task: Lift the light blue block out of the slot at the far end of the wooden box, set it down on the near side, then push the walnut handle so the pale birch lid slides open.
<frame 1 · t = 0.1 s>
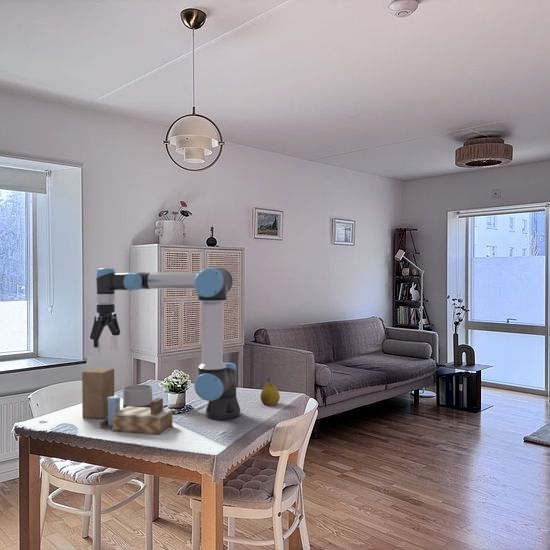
hand: (105, 352, 228), 28 cm above the table, fingers open, 13 cm apart
wooden block: (98, 415, 229), on the table
wooden box: (143, 428, 210), on the table
fruit: (270, 404, 248), on the table
light blue block: (114, 426, 213), resting in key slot
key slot: (114, 426, 213), on the table
planter: (137, 411, 237), on the table
lid: (143, 406, 210), point 9 cm above the table, slide at 0.0 cm
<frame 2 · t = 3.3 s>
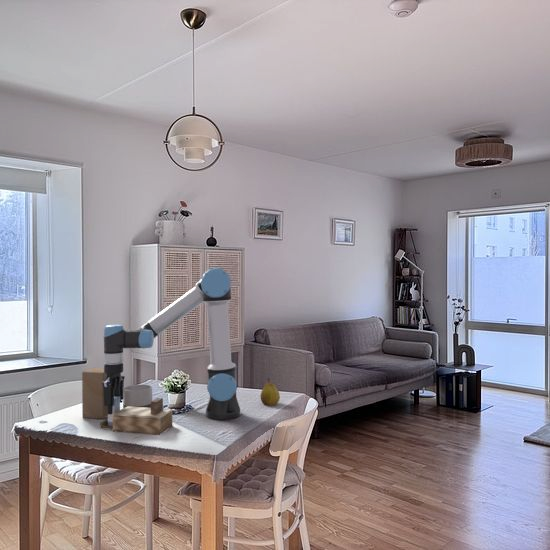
hand: (113, 420, 213), 3 cm above the table, fingers closed on light blue block, 3 cm apart
light blue block: (113, 426, 213), resting in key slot, touching gripper
everything else where it was.
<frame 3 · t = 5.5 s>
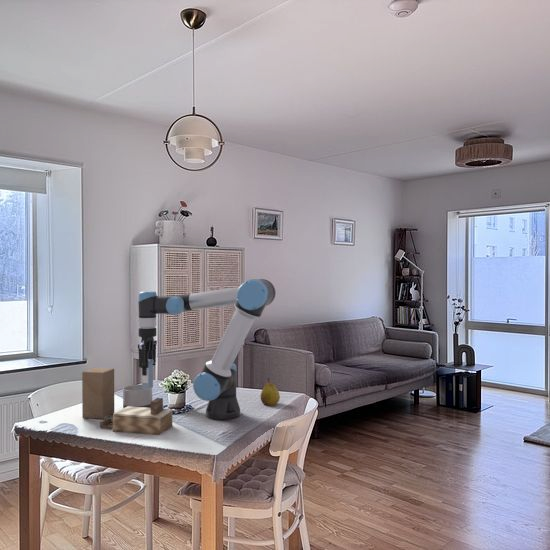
hand: (147, 381, 225), 16 cm above the table, fingers closed on light blue block, 3 cm apart
light blue block: (147, 387, 225), point 13 cm above the table, touching gripper
everything else where it was.
when the fingers open (3 cm above the table, at t = 7.6 s): light blue block stays where it is, on the table.
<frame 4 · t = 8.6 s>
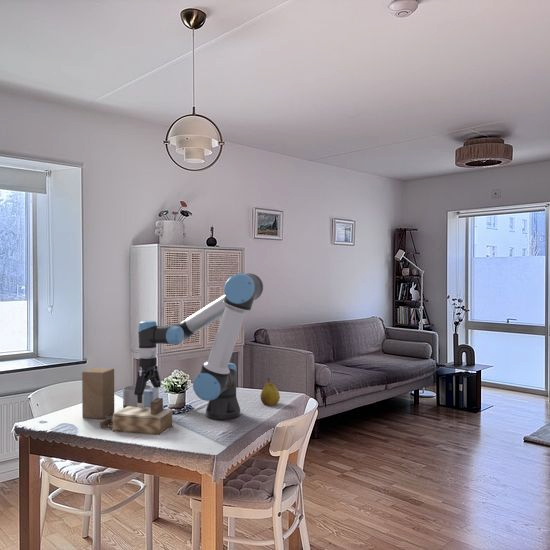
hand: (148, 406, 225), 5 cm above the table, fingers open, 13 cm apart
light blue block: (147, 418, 225), on the table
everything else where it was.
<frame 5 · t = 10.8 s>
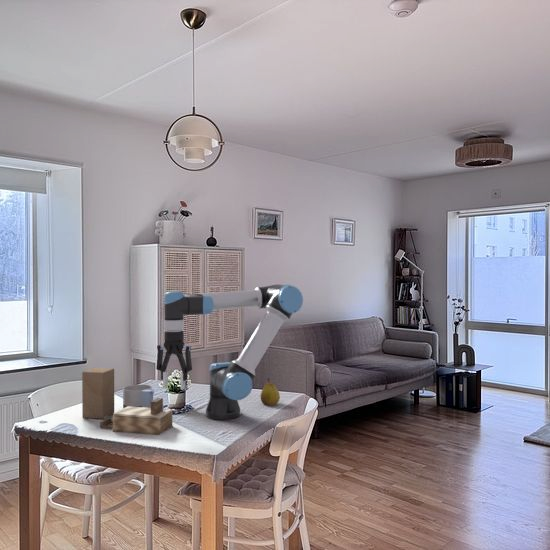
hand: (174, 388, 207), 17 cm above the table, fingers open, 7 cm apart
nothing on the table moved.
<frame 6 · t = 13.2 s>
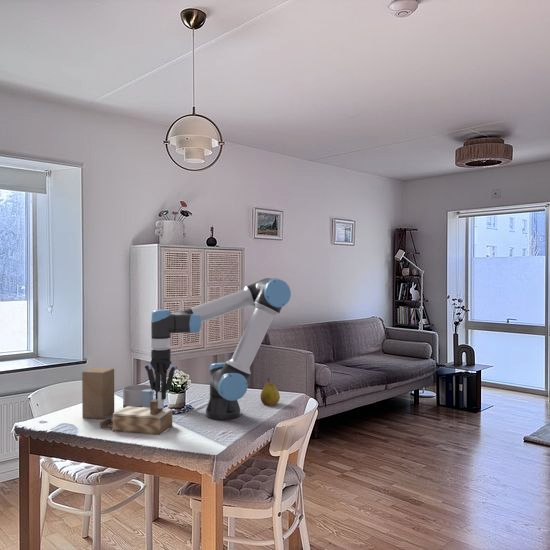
hand: (160, 407, 208), 9 cm above the table, fingers closed
lid: (142, 406, 210), point 9 cm above the table, slide at 0.2 cm, touching gripper
everything else where it was.
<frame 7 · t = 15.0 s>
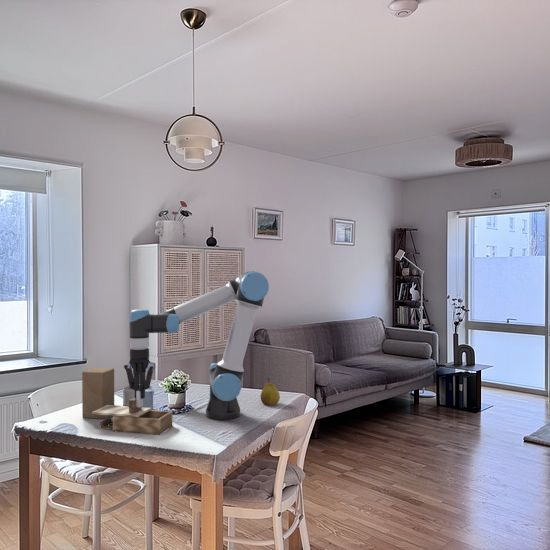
hand: (139, 406, 211), 9 cm above the table, fingers closed
lid: (121, 404, 212), point 9 cm above the table, slide at 9.4 cm, touching gripper
everything else where it was.
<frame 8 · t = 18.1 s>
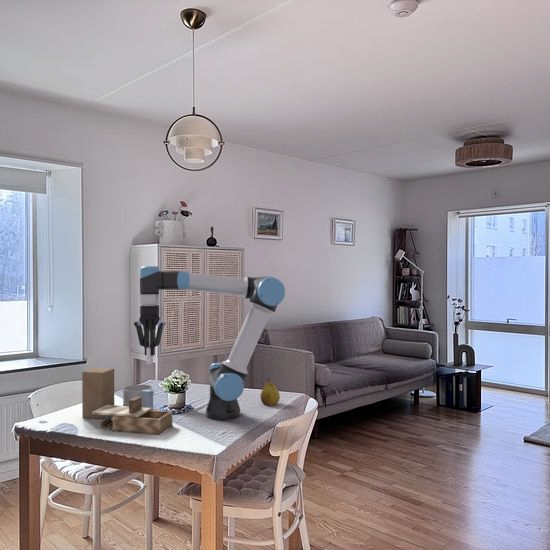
hand: (149, 363, 209), 26 cm above the table, fingers closed
lid: (121, 404, 212), point 9 cm above the table, slide at 9.4 cm
everything else where it was.
at the end: lid slide at 9.4 cm; light blue block moved 16.1 cm from its start; the gripper is holding nothing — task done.
